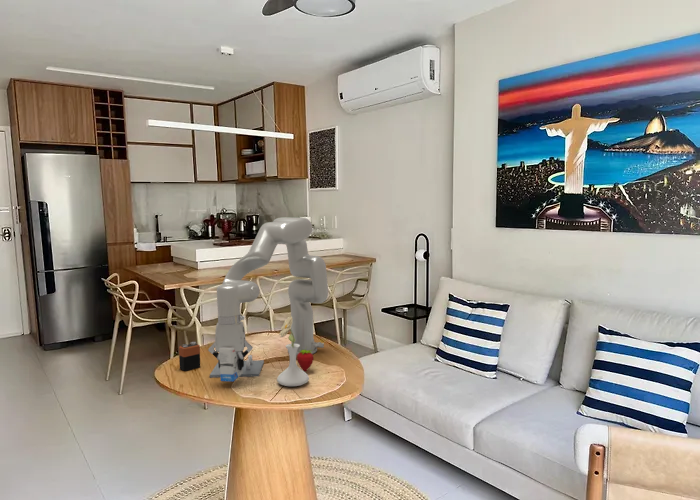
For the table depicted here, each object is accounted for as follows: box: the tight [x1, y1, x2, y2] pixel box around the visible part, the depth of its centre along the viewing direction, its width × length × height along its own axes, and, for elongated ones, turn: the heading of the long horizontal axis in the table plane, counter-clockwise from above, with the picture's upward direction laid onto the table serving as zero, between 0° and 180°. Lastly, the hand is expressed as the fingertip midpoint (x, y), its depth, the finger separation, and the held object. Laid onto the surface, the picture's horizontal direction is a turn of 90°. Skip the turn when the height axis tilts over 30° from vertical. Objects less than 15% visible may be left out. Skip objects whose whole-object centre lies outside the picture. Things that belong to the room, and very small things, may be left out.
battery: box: [178, 341, 201, 372], centre depth 187 cm, size 4×7×10 cm, turn 135°
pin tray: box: [209, 354, 265, 379], centre depth 185 cm, size 18×16×4 cm
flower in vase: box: [276, 315, 310, 387], centre depth 169 cm, size 13×11×25 cm
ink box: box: [218, 347, 243, 382], centre depth 170 cm, size 9×5×12 cm, turn 168°
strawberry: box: [296, 349, 314, 373], centre depth 183 cm, size 6×8×10 cm
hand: (231, 368), depth 170 cm, fingers closed on ink box, 5 cm apart
